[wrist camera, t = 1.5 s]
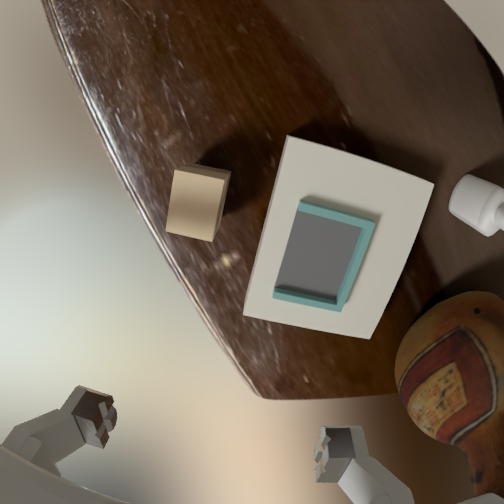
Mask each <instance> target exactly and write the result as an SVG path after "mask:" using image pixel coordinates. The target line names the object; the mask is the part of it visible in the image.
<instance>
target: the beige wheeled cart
mask: <svg viewBox="0 0 504 504" xmlns="http://www.w3.org/2000/svg"><path fill="white" fill-rule="evenodd" d="M230 178H231V171H228V170H227V169H217V168H212V167H208V166H203V165H201V164H199V163H187V164H185V165H183V166H181V167H179V168H177V169H176V170H175V172H174V178H173V184H172V191H171V197H170V204H169V210H168V217H167V225H166V231H167V232H171V233H176V234H180V235H184V236H189V237H193V238H197V239H201V240H206V241H210V242H212V241H213V239H214V237H215V234H216V232H217V230H218V228H219V226H220V222H221V218H222V216H223V208H224V203H225V198H226V194H227V189H228V184H229V180H230Z"/></svg>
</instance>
